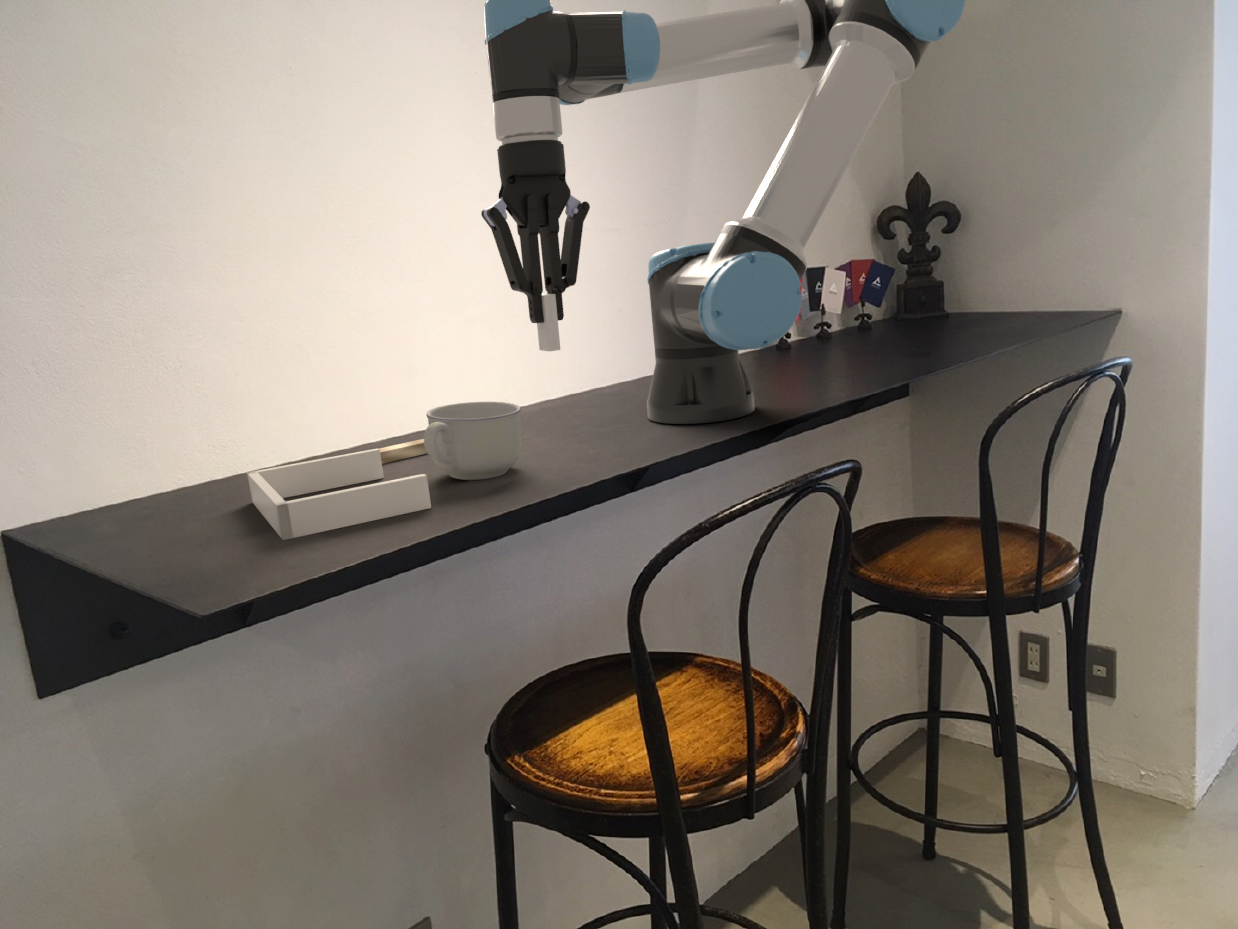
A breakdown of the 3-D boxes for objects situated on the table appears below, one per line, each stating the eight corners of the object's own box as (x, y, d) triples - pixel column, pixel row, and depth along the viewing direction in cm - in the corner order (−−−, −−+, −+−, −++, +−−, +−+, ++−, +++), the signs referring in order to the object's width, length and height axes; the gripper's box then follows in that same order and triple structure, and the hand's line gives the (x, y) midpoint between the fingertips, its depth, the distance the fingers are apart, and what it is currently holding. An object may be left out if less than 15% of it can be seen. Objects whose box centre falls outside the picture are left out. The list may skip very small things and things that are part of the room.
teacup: (483, 460, 121) (475, 397, 119) (546, 467, 114) (539, 400, 113) (394, 488, 111) (384, 419, 109) (457, 497, 104) (448, 424, 102)
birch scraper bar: (467, 439, 135) (466, 429, 134) (477, 441, 133) (475, 430, 132) (308, 476, 121) (306, 464, 121) (315, 479, 119) (313, 467, 119)
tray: (381, 476, 117) (377, 448, 116) (431, 507, 101) (426, 475, 100) (252, 502, 110) (246, 472, 110) (283, 540, 94) (276, 505, 93)
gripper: (567, 143, 116) (584, 341, 121) (463, 147, 110) (487, 354, 115) (596, 135, 109) (613, 344, 115) (488, 138, 103) (511, 359, 109)
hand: (549, 349), depth 115 cm, fingers closed
